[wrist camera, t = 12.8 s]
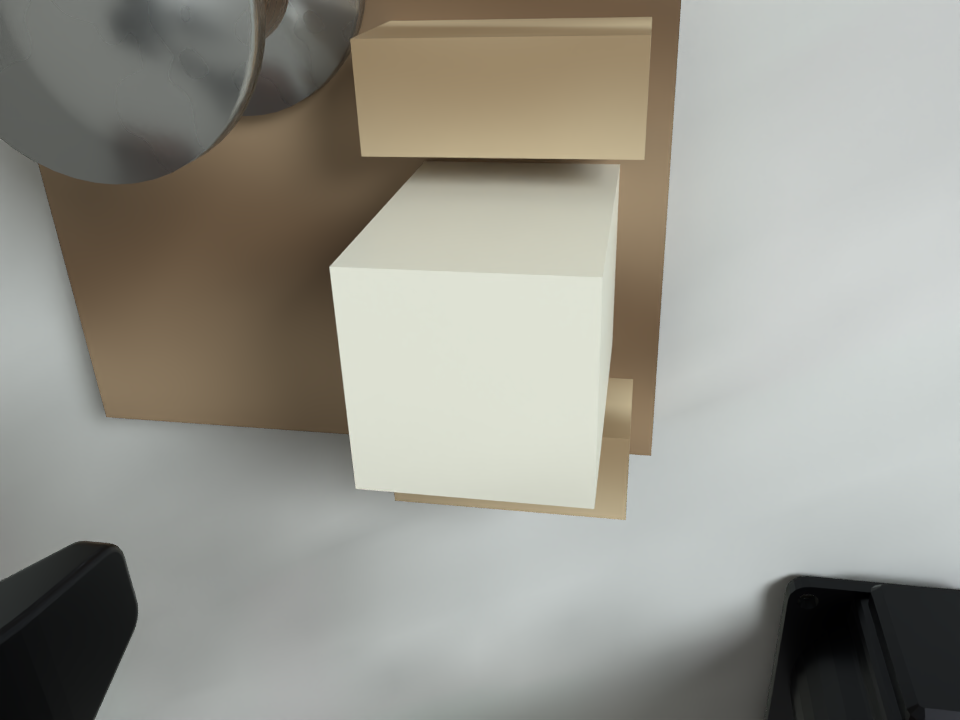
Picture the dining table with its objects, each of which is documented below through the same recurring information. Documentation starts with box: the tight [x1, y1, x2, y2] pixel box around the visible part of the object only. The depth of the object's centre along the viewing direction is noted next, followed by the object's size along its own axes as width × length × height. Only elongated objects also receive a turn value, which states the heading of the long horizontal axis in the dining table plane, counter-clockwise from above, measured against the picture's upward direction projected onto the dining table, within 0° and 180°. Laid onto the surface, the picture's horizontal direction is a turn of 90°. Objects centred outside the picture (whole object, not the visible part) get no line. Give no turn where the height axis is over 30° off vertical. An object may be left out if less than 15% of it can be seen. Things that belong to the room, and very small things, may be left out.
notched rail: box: [350, 17, 652, 520], centre depth 18 cm, size 10×5×2 cm, turn 2°
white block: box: [329, 161, 620, 509], centre depth 16 cm, size 4×4×6 cm
